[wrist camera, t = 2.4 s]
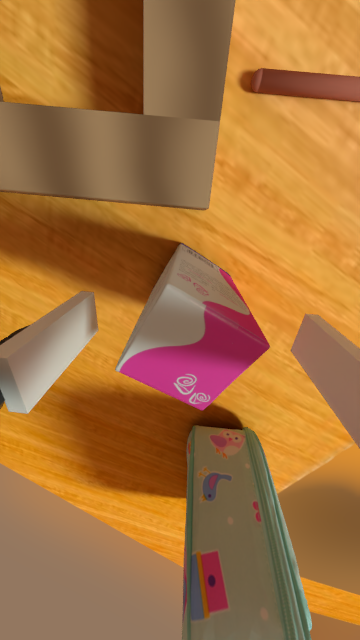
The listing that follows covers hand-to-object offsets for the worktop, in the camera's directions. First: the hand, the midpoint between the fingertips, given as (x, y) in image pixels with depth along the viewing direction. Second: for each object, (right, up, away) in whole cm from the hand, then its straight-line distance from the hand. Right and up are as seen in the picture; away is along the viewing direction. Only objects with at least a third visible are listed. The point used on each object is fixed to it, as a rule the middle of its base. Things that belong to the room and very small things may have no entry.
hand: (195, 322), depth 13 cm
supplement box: (0, +4, +7) cm, 8 cm away
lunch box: (+5, -24, +21) cm, 32 cm away
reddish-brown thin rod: (+10, +15, 0) cm, 18 cm away
